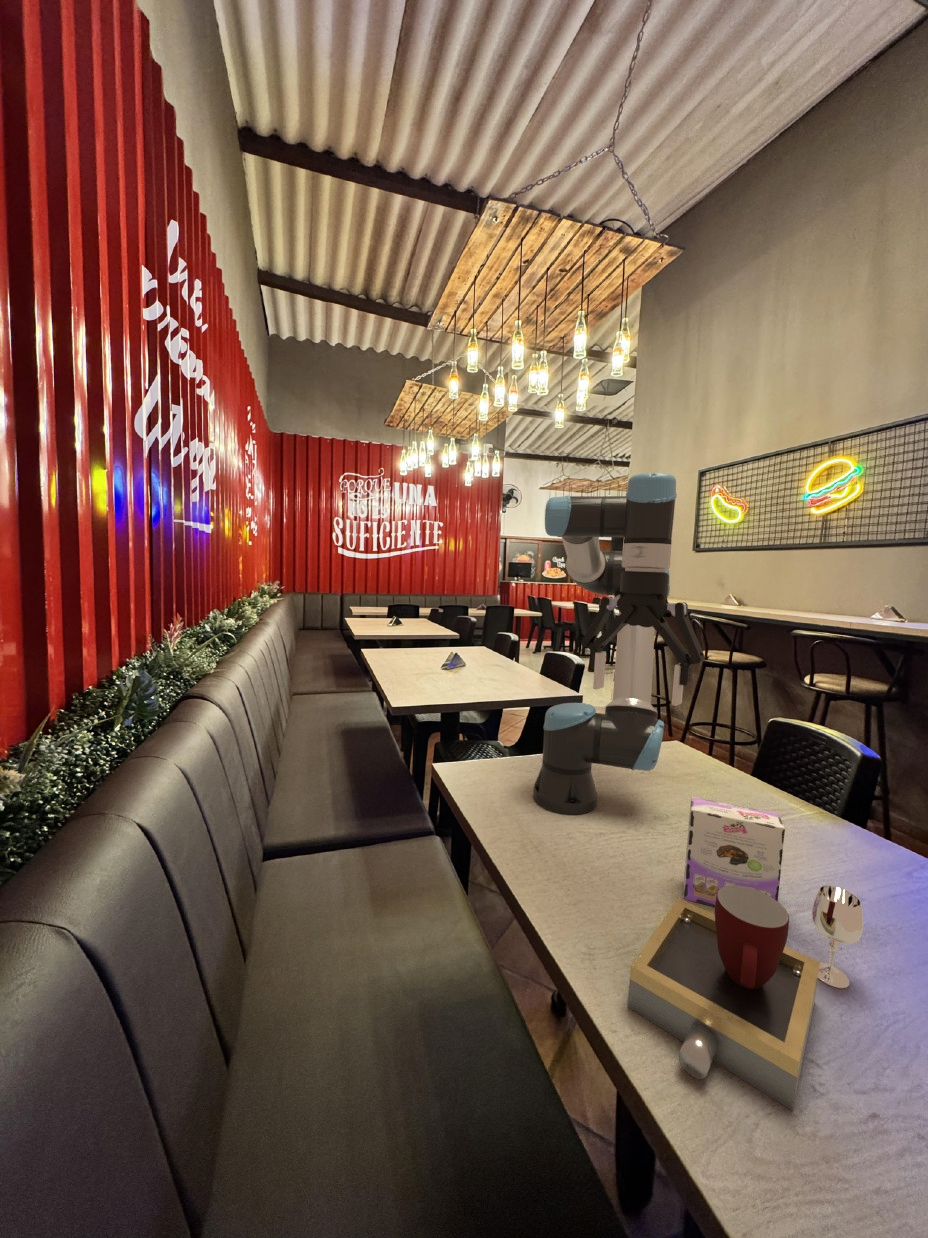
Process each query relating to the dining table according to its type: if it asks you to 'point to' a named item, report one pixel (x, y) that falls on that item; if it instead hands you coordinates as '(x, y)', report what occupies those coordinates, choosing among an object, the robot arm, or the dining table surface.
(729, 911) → the mug
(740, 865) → the candy box
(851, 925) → the wineglass
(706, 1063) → the shallow drawer tray
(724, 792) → the dining table surface
